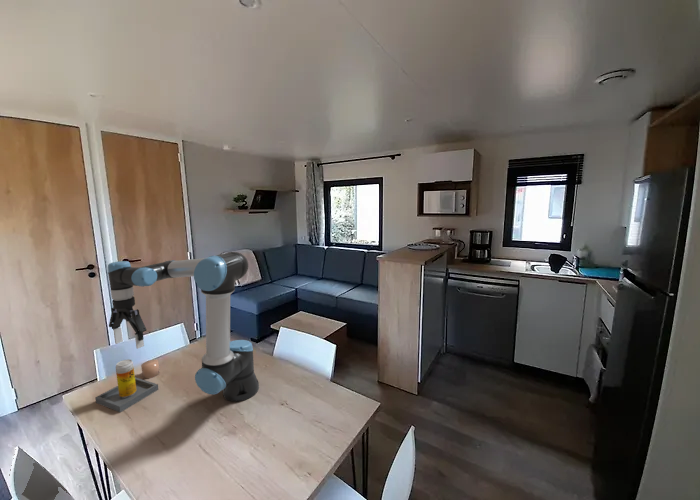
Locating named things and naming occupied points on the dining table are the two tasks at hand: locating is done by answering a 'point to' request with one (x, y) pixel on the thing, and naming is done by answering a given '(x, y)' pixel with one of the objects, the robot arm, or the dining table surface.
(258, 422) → the dining table surface
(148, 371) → the light brown rounded lump
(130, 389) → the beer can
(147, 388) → the tray
